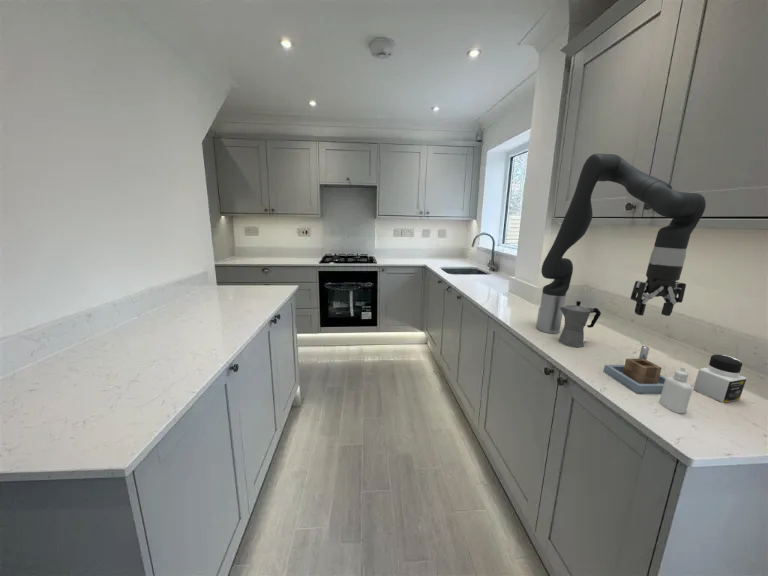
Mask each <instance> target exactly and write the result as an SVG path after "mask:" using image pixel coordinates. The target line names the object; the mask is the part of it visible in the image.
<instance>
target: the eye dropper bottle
mask: <svg viewBox="0 0 768 576" xmlns="http://www.w3.org/2000/svg"><path fill="white" fill-rule="evenodd" d="M688 376H689V373H687V371H686V368H685V366H681V367H680V369H677V370H675V372H674V375H673V376H667V377H665V378H666V379H665V382H664V386H663V389H662V393H661V394H660V397H659V403H660V405H662V406H663V407H665V408H666V409H668V410H670V411H672V412H675V413H677V414H685V413H687V410H688V407H689V402H690V400H691V396H692V392H693V387H692V386H691V385H690V384H689V382H687V381H688Z"/></svg>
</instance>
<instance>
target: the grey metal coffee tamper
mask: <svg viewBox="0 0 768 576" xmlns="http://www.w3.org/2000/svg"><path fill="white" fill-rule="evenodd" d="M649 351H650V347H649V346H647V345H641V348H640V353H639V356H638V359H646V360H648V355H649Z"/></svg>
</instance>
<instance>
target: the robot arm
mask: <svg viewBox="0 0 768 576" xmlns="http://www.w3.org/2000/svg"><path fill="white" fill-rule="evenodd" d="M598 182H611V183H616V184H619V185H621V186H622V187H624V188H625V190H626V192H627V193H628V194H629V195H630V196H632V197H633V198H635V199H637V200H638V201H641V202H642V203H644V204H647V205H648V206H649V208H650V209H652V210H653V211H654V212H655V213H656V214H657V215H659V216H661V217H664V218H669V219H671V221H670V222H669V224H668V225H667V226H663V227H660V228H659V230H658V231H657V234H656V237H655V241H654V245H653V249H652V251H651V253H650V257H649V260H648V261H649V262H648V266H647V269H646V273H645V276H646V278H647V279H646V281H645V282H644V281H640V280H636V281H635V282H634V285H633V288H632V292H631V294H630V295H631V296H630V300H632V301H634V302H636V303H635V308H634V313H635V315H637V316H644V313H645V310H646V306H647V302H649V301H650V300H652V299H654V298H656V297H657V298H658V297H662V298H663V300H664V302H663V306H662V308H661V315H663V316H665V317H670V316H671V315H672V312H673V309H674V306H675V305H676V304H677V303H682V302H683V301H684V295H685V292H686V291H685V290H686V287H687V284H686V283H685V282H681V281H680V282H679V280H680V277H681V275H682V271H683V268H684V265H685V259H686V255H687V248H688V245H689V241H690V238H691V234H692V233H693V231H694V229H695V228H696V226H697V225H698V223H699V222H700V220H701V218H702V217H703V215H704V212H705V210H706V204H707V203H706V199H705V197H704V195H703V194H701V193H698V192H687V191H685V192H684V191H677V190H675V189H673V187H672V185H671V184H670V183H668V182H666V181H664V180H661V179H659V178H657V177H655V176H653V175H650V174H648V173H646V172H643V171H641V170H640V169H639V168H636V167H635V166H634V165H632V164H630V162H628V161H627V160H625V159H624V158H622V157H621V156H619V155H618V154H614V153H593V154H591V155H590V156H588V158H586V160H585V162H584V163H583V165H582V169H581V170H580V174H579V178H578V181H577V184H576V187H575V191H574V193H573V195H572V198H571V201H570V204H569V206H568V209H567V212H566V213H565V215H564V217H563V220H562V223H561V225H560V228H559V229H558V232H557V234H556V238H555V240H554V242H553V244H552V245H551V247H550V249H549V251H548V252H547V255H546V256H545V258H544V260H543V263H542V265H541V269H540V270H541V274H542V277H543V278H544V279H547V280H552V282H551V283H548V284H546V285H544V286H543V287H542V293H541V299H540V306H539V307H538V312H537V318H536V326H535V327H536V329H537V330H538V331H541V332H542V333H547V334H559V333H560V331H561V324H562V319H563V316H564V315H563V313H562V311H561V310H560V309H559V308H560V307H565V302H566V296H567V292H568V290H569V288H570V285H571V280H572V277H573V272H574V270H573V269H574V265H573V262H572V260H571V259H570V258H567V257H564V255H565V254H566V252H567V251H568V250H569V249H570V248H571V247H573V246H574V245H575V244H576V243H577V242H579V240H581V239H582V238H583V236H584V235H586V233H587V230H588V228H589V226H590V224H591V222H592V219H593V205H592V194H593V191H594V189H595V187H596V184H597V183H598Z"/></svg>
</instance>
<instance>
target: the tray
mask: <svg viewBox="0 0 768 576" xmlns="http://www.w3.org/2000/svg"><path fill="white" fill-rule="evenodd" d="M624 366H625V364H604V366H603V367H604V368H603V373H604V372H605V375H607V374H608V375H607V376H609V377H610V376H611V378H612V379H613V380H615V381H617V382H618V383H620V384H622V385H623V386H624V387H626V388H628V389H629V390H630V391H632V392H634V393H635V394H636V395H661V393H662V389H663V386H664V382H665V379H666V378H667V377H665V376H663V375H661V374H660V376H659V380H658V384H639V383H637V382H636V381H634V380H632V379H631V378H629V377H627V376H626V375H624V374H623V370H624Z"/></svg>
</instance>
